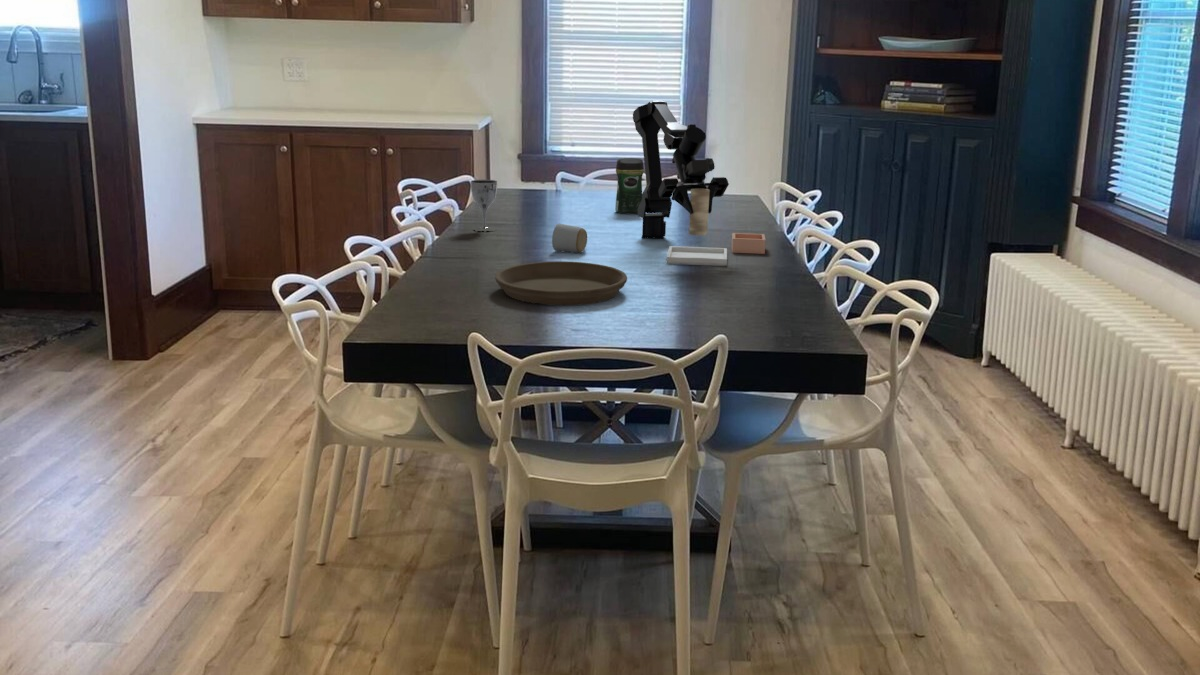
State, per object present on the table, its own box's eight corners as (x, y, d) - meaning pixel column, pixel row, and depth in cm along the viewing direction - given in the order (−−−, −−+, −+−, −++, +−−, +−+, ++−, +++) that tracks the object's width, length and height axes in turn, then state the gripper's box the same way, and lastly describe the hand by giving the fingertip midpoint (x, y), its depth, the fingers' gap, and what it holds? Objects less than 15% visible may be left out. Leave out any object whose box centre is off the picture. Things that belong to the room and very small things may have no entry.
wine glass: (466, 231, 338) (466, 181, 334) (479, 227, 345) (478, 179, 341) (489, 233, 335) (489, 183, 331) (501, 229, 342) (501, 180, 338)
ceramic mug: (578, 255, 304) (578, 227, 302) (551, 252, 307) (551, 225, 305) (592, 249, 314) (593, 222, 312) (566, 247, 317) (566, 220, 315)
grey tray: (666, 263, 295) (666, 257, 295) (669, 252, 310) (669, 246, 310) (726, 266, 294) (727, 259, 293) (726, 254, 309) (726, 248, 308)
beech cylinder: (685, 233, 300) (687, 189, 297) (695, 231, 304) (697, 187, 300) (700, 236, 297) (702, 191, 294) (711, 233, 301) (713, 189, 297)
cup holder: (731, 254, 309) (732, 238, 308) (731, 248, 318) (732, 233, 317) (764, 255, 308) (765, 239, 307) (763, 249, 317) (764, 234, 316)
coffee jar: (641, 210, 383) (643, 156, 378) (644, 214, 375) (645, 159, 370) (613, 210, 382) (615, 156, 377) (615, 214, 374) (617, 159, 369)
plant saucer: (580, 315, 240) (580, 295, 239) (468, 296, 256) (467, 277, 255) (650, 290, 266) (651, 271, 265) (544, 273, 282) (544, 256, 280)
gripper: (663, 148, 295) (677, 195, 288) (727, 147, 301) (743, 193, 294) (652, 174, 304) (665, 220, 297) (714, 172, 310) (729, 218, 303)
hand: (701, 212), depth 297 cm, fingers closed on beech cylinder, 5 cm apart
